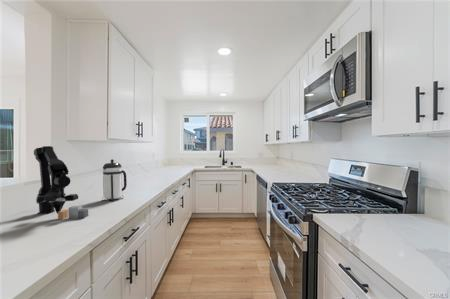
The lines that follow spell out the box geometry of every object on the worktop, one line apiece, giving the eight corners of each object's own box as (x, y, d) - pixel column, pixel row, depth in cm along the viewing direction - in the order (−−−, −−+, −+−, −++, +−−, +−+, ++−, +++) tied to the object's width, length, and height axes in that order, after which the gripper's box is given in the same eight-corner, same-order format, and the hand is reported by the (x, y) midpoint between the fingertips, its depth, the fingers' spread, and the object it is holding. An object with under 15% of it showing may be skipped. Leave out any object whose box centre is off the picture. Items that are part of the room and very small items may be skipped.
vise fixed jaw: (78, 218, 129) (77, 211, 129) (82, 215, 134) (82, 208, 134) (83, 218, 130) (83, 211, 130) (88, 215, 135) (88, 208, 135)
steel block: (68, 218, 129) (68, 207, 129) (72, 216, 133) (72, 206, 133) (78, 218, 130) (77, 207, 130) (81, 216, 134) (81, 205, 134)
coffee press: (124, 200, 172) (123, 159, 171) (99, 202, 167) (98, 160, 167) (126, 196, 188) (126, 158, 188) (104, 197, 184) (103, 159, 184)
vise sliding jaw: (57, 219, 128) (57, 212, 128) (63, 216, 133) (63, 209, 133) (62, 219, 129) (62, 211, 129) (68, 216, 134) (67, 209, 134)
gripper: (28, 188, 122) (29, 218, 122) (66, 187, 123) (67, 217, 123) (43, 185, 133) (44, 212, 133) (78, 183, 134) (79, 211, 135)
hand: (58, 213), depth 131 cm, fingers closed
